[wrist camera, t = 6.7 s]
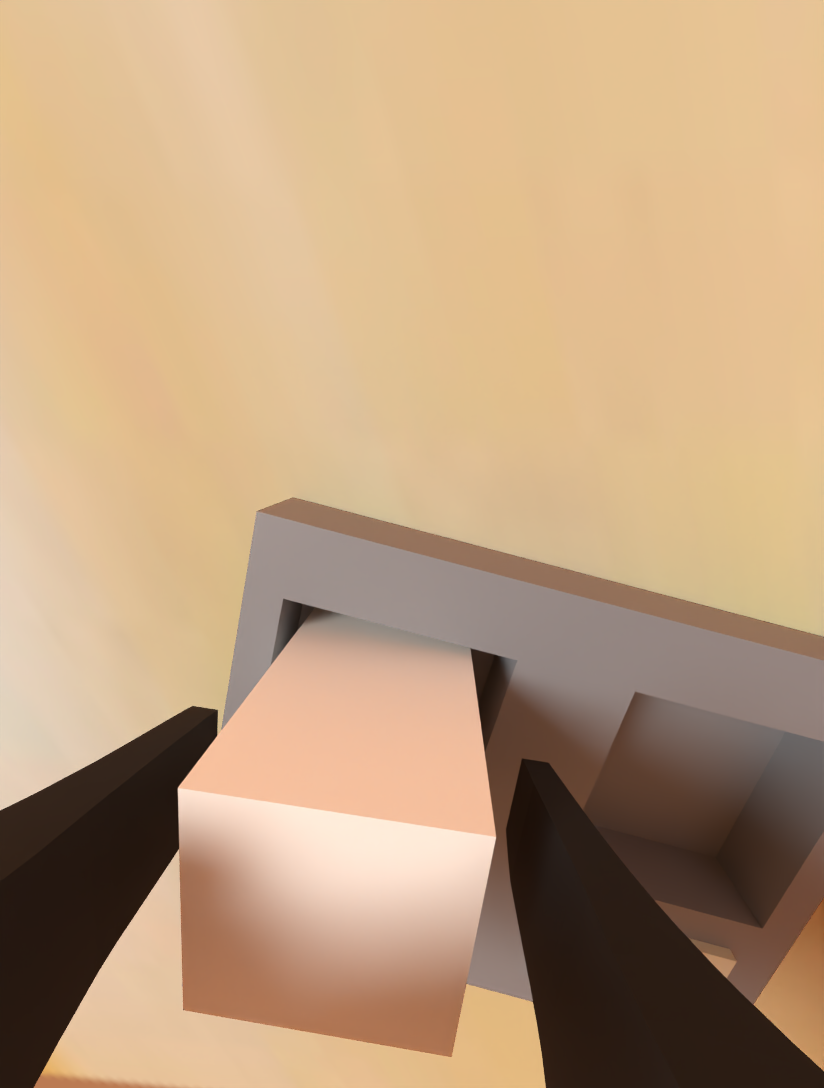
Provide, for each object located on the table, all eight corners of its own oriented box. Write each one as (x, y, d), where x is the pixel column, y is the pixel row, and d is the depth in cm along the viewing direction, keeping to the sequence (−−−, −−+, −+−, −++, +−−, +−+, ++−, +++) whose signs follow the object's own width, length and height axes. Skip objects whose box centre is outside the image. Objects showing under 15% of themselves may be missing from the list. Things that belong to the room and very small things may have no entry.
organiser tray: (856, 646, 12) (972, 703, 10) (677, 957, 16) (727, 1066, 13) (292, 497, 12) (251, 513, 10) (230, 837, 16) (186, 920, 13)
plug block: (466, 623, 13) (496, 836, 6) (446, 751, 14) (451, 1057, 7) (317, 603, 13) (178, 787, 6) (309, 731, 14) (183, 1010, 7)
